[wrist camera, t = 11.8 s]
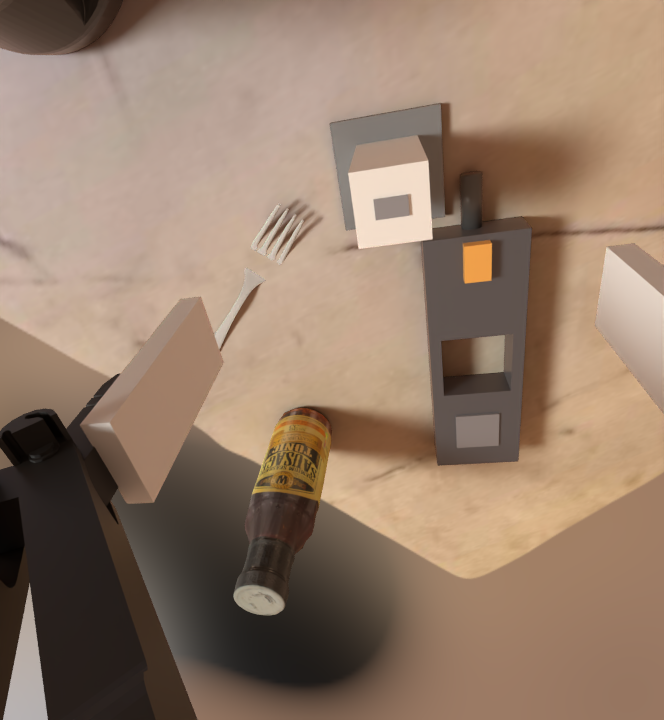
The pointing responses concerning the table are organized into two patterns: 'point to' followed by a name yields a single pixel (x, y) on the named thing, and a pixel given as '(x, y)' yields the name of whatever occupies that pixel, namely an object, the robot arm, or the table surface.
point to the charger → (391, 192)
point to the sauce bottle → (283, 508)
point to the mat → (386, 128)
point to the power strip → (477, 328)
